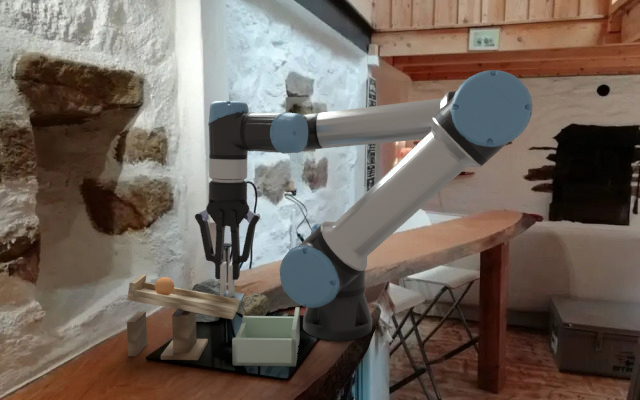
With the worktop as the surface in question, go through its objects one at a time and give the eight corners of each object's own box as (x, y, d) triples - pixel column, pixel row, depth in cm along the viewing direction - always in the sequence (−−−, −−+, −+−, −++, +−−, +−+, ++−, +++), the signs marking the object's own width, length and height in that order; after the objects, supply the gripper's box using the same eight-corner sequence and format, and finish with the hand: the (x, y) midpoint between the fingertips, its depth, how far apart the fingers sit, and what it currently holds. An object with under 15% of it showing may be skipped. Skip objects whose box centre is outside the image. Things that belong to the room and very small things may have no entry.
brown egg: (156, 289, 99) (174, 294, 99) (150, 295, 95) (168, 300, 95) (160, 272, 98) (178, 277, 98) (154, 277, 95) (173, 283, 95)
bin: (299, 339, 104) (299, 307, 103) (295, 366, 92) (295, 329, 91) (243, 339, 104) (243, 306, 103) (232, 365, 92) (232, 328, 91)
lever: (243, 302, 107) (246, 282, 107) (230, 326, 93) (234, 303, 93) (150, 284, 107) (153, 265, 106) (124, 306, 93) (127, 284, 93)
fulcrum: (208, 342, 102) (207, 303, 101) (197, 360, 94) (196, 318, 93) (141, 341, 102) (139, 302, 101) (125, 359, 95) (124, 317, 93)
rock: (276, 317, 118) (276, 298, 117) (244, 322, 114) (244, 303, 114) (265, 307, 124) (265, 290, 123) (234, 312, 120) (234, 294, 120)
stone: (193, 281, 110) (222, 269, 119) (168, 303, 115) (199, 291, 123) (216, 318, 108) (244, 303, 117) (190, 339, 113) (220, 324, 121)
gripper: (265, 179, 104) (263, 289, 107) (197, 177, 104) (198, 287, 107) (260, 183, 97) (259, 301, 100) (187, 180, 97) (188, 299, 100)
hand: (227, 294), depth 103 cm, fingers closed
